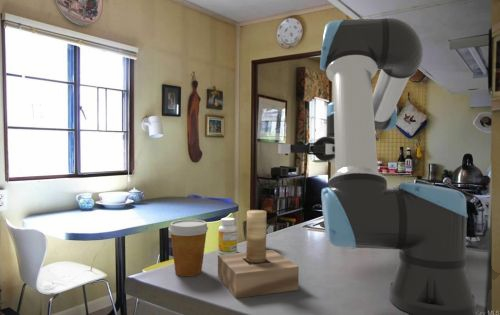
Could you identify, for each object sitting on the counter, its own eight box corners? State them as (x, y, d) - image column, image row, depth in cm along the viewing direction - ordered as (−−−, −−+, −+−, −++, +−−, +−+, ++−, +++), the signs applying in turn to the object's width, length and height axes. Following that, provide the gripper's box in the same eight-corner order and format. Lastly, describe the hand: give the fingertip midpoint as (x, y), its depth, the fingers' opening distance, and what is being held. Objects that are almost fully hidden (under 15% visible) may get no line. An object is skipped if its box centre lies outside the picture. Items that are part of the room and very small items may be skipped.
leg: (269, 284, 84) (270, 212, 84) (249, 287, 82) (250, 213, 82) (261, 278, 88) (262, 209, 88) (243, 280, 87) (243, 210, 86)
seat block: (298, 289, 81) (298, 266, 81) (235, 298, 76) (235, 273, 76) (272, 269, 94) (272, 249, 94) (217, 276, 90) (217, 254, 89)
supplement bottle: (219, 249, 113) (219, 216, 113) (237, 249, 113) (237, 217, 112) (217, 254, 108) (217, 220, 107) (236, 254, 107) (236, 220, 107)
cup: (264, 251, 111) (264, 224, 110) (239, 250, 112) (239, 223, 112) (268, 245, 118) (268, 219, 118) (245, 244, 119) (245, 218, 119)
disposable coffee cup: (204, 264, 98) (204, 218, 98) (211, 276, 89) (211, 225, 89) (166, 268, 95) (166, 220, 95) (170, 280, 86) (170, 228, 86)
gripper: (368, 161, 114) (348, 164, 95) (291, 159, 126) (261, 161, 108) (368, 136, 114) (348, 134, 95) (292, 137, 126) (261, 135, 108)
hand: (302, 148), depth 102 cm, fingers open, 13 cm apart
